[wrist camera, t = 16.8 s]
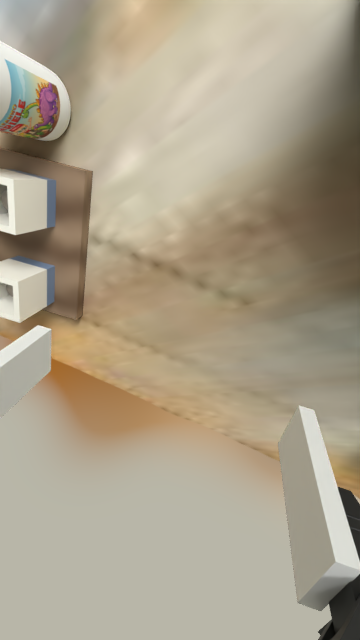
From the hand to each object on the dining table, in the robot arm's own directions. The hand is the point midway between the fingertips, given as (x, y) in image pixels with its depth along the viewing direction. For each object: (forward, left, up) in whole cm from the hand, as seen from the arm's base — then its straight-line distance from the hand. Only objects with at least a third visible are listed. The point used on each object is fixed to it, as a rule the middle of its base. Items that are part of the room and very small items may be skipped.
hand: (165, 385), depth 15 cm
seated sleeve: (-2, -26, -27) cm, 37 cm away
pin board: (+4, -26, -29) cm, 39 cm away
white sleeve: (+10, -26, -27) cm, 38 cm away
